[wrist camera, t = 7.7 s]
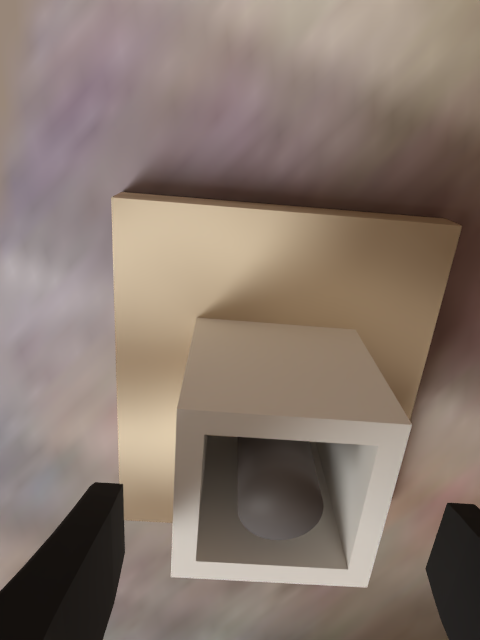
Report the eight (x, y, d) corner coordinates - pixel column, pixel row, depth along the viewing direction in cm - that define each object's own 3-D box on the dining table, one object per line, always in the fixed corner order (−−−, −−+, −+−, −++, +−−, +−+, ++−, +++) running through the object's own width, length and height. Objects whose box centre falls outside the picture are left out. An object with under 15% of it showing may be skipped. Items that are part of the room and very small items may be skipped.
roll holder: (370, 510, 19) (429, 677, 13) (127, 496, 18) (78, 661, 13) (444, 218, 14) (585, 278, 8) (121, 191, 14) (40, 236, 8)
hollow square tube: (330, 457, 16) (367, 587, 12) (189, 448, 16) (171, 576, 11) (355, 329, 14) (412, 424, 10) (196, 317, 14) (176, 409, 9)
